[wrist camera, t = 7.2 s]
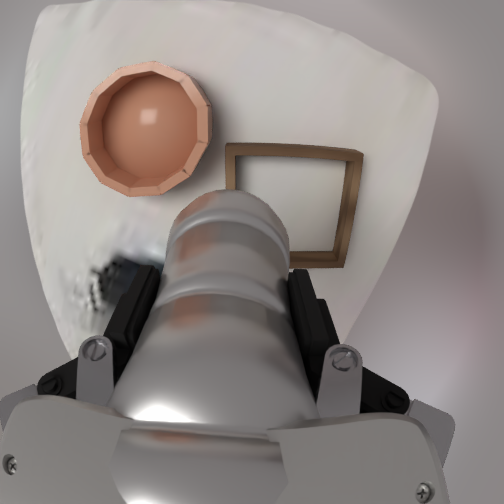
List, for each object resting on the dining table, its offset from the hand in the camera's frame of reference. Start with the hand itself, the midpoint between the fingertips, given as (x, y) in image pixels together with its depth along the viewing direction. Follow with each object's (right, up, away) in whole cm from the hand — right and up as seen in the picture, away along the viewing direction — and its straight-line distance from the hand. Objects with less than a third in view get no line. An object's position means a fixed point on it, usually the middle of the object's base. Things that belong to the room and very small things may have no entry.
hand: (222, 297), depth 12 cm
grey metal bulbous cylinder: (0, +3, +6) cm, 7 cm away
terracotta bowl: (-10, +16, +15) cm, 24 cm away
